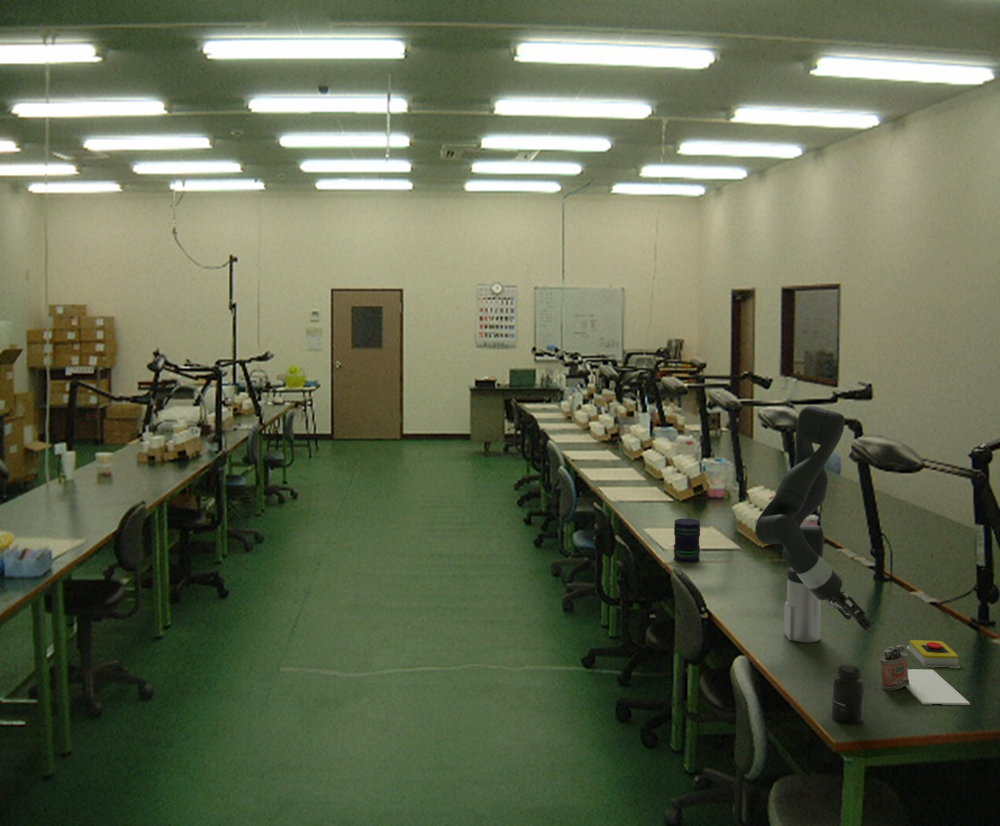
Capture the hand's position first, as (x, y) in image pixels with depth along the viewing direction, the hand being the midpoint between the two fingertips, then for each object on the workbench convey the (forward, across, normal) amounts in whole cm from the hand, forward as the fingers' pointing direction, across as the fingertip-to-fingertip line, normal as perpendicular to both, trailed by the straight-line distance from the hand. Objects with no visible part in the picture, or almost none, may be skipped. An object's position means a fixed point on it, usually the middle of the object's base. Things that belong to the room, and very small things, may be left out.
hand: (859, 622), depth 217 cm
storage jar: (+6, +120, +11) cm, 121 cm away
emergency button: (+33, +16, -11) cm, 38 cm away
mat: (+24, -2, -2) cm, 24 cm away
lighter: (+19, -1, +4) cm, 19 cm away
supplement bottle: (+5, -16, +20) cm, 26 cm away
